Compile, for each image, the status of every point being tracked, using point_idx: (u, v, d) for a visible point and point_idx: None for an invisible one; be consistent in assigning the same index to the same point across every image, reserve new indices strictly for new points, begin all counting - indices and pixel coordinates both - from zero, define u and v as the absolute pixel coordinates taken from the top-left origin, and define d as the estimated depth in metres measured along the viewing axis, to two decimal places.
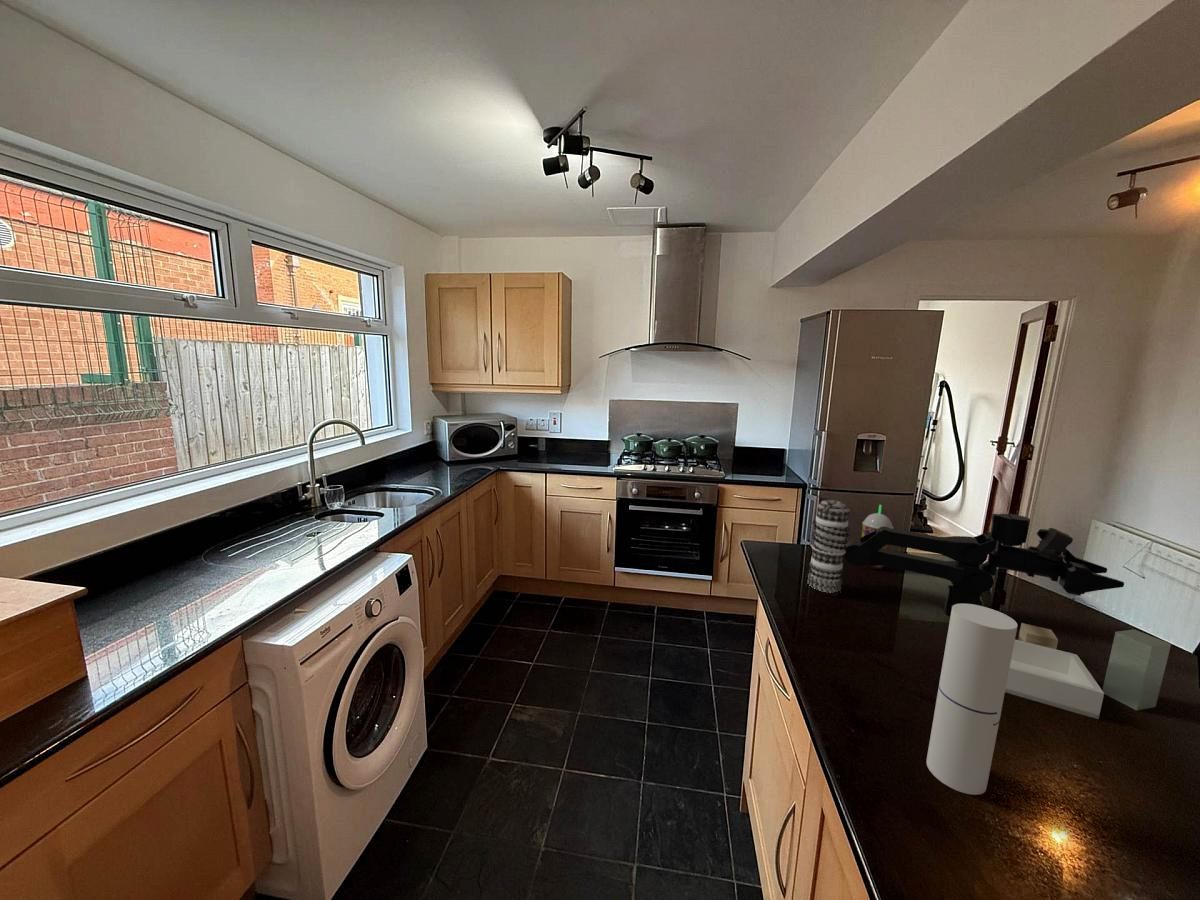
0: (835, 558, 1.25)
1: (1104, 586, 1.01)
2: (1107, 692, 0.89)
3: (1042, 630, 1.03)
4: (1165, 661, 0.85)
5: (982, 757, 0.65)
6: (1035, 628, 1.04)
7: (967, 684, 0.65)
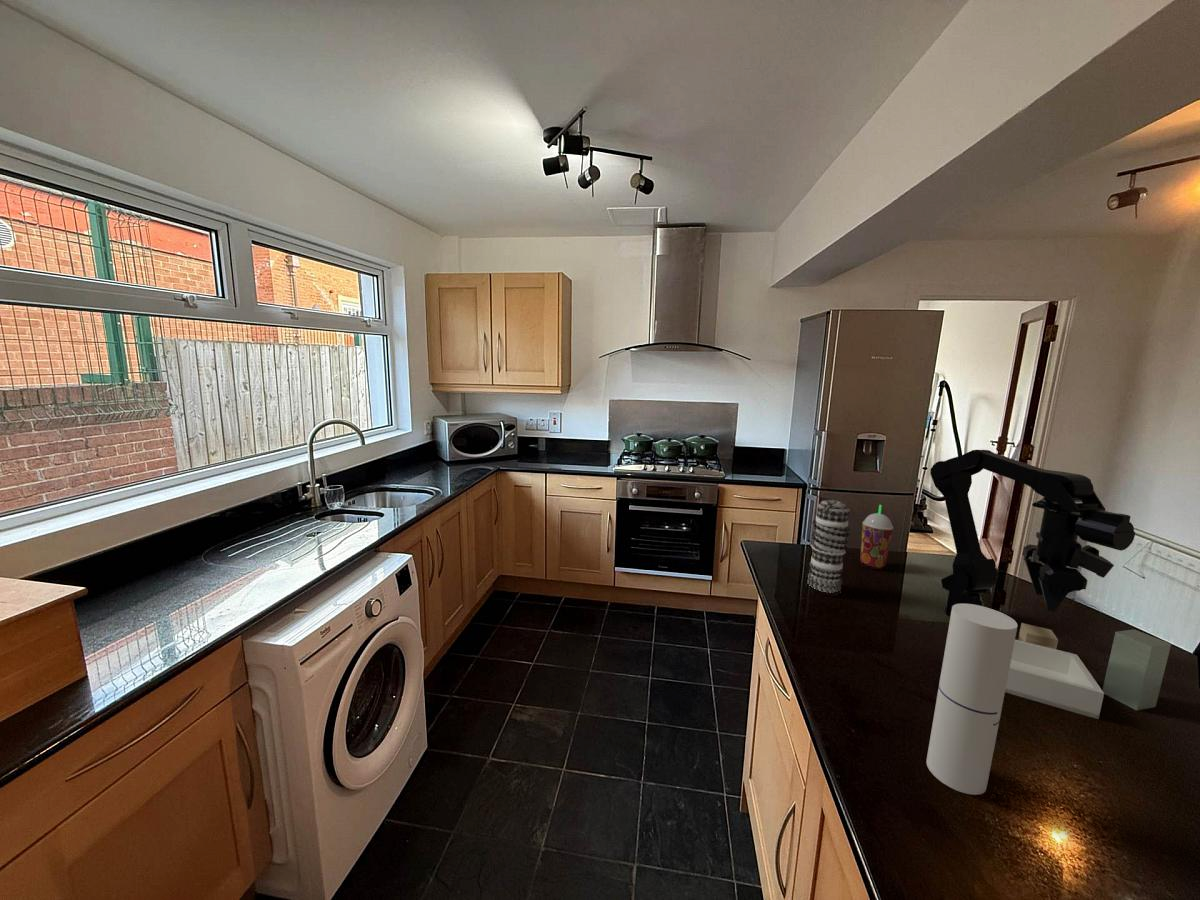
0: (835, 558, 1.25)
1: (1048, 598, 0.97)
2: (1107, 692, 0.89)
3: (1042, 630, 1.03)
4: (1165, 661, 0.85)
5: (982, 757, 0.65)
6: (1035, 628, 1.04)
7: (967, 684, 0.65)
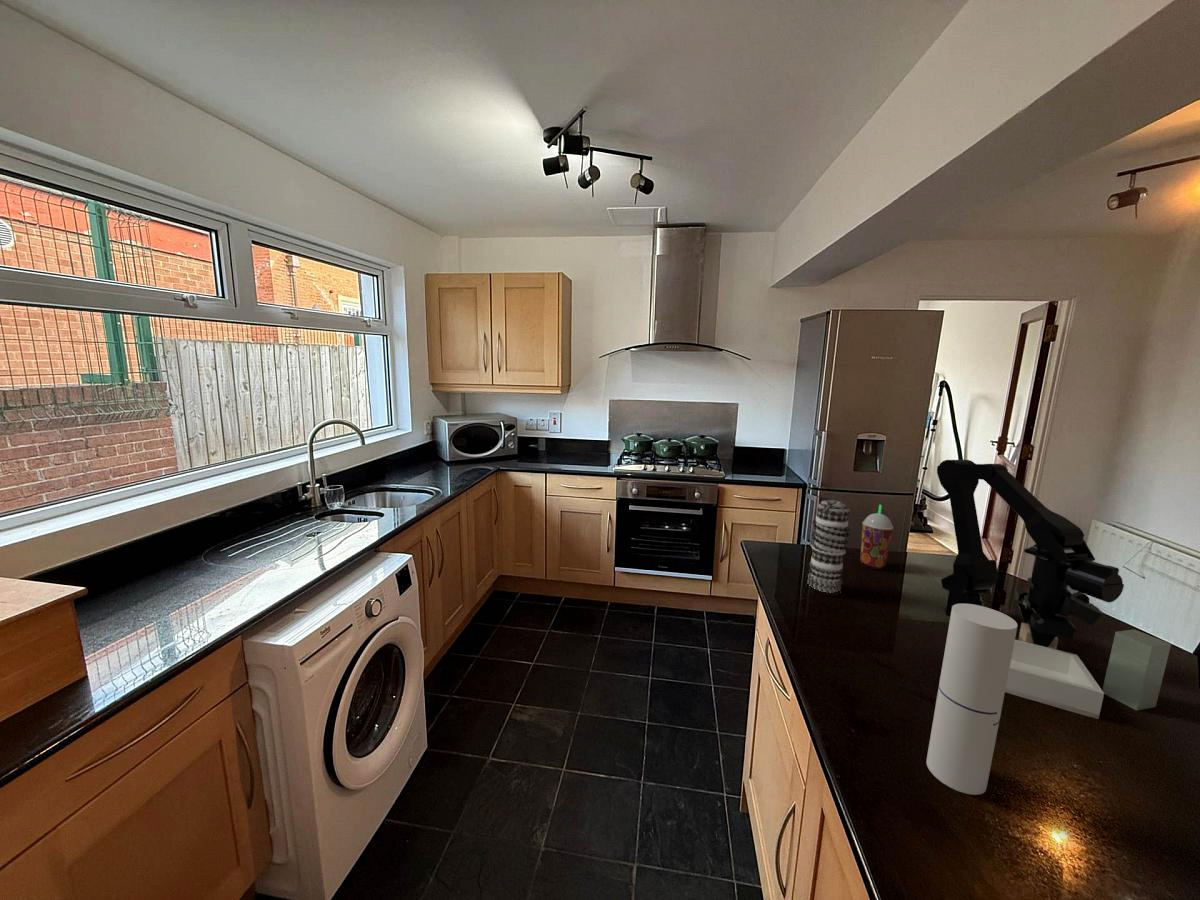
0: (835, 558, 1.25)
1: (1037, 640, 1.00)
2: (1107, 692, 0.89)
3: None
4: (1165, 661, 0.85)
5: (982, 757, 0.65)
6: None
7: (967, 684, 0.65)
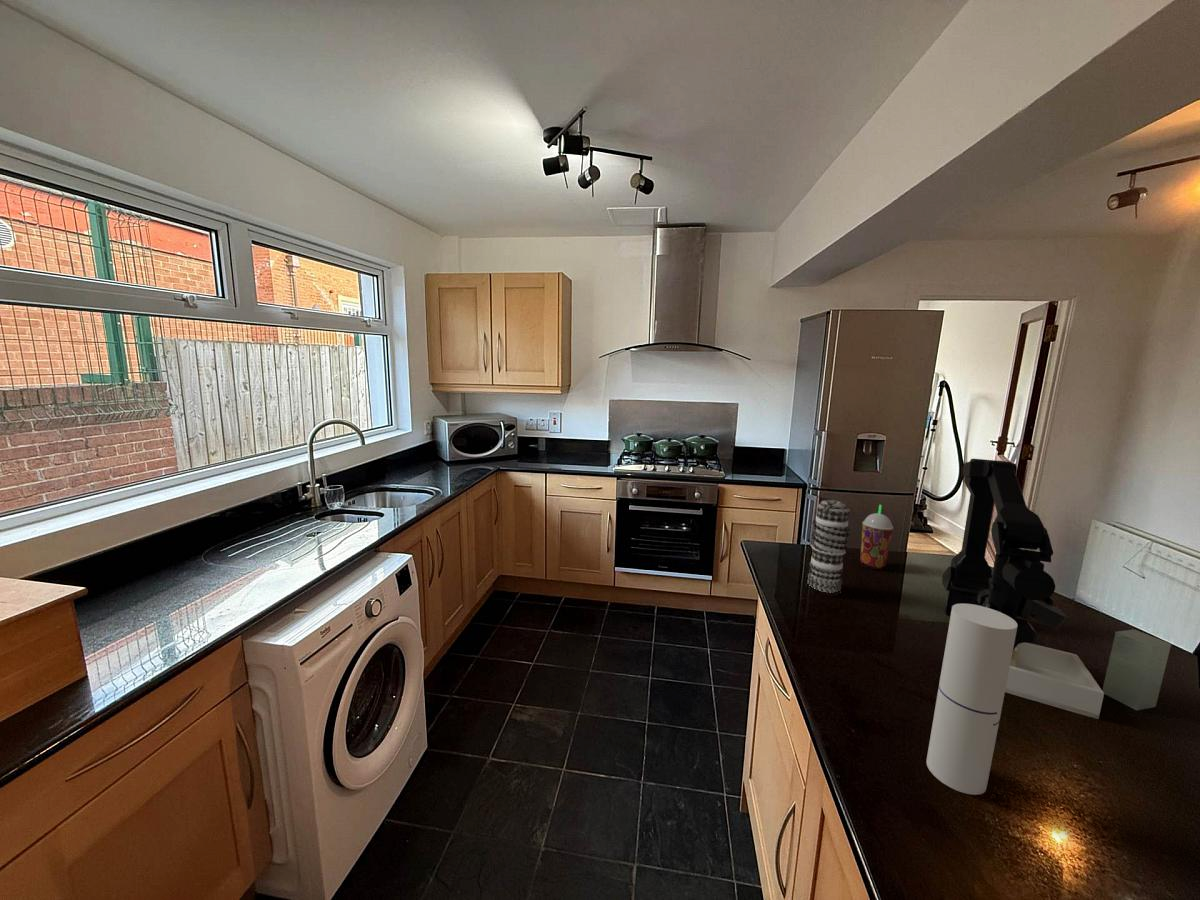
0: (835, 558, 1.25)
1: None
2: (1107, 692, 0.89)
3: None
4: (1165, 661, 0.85)
5: (982, 757, 0.65)
6: None
7: (967, 684, 0.65)
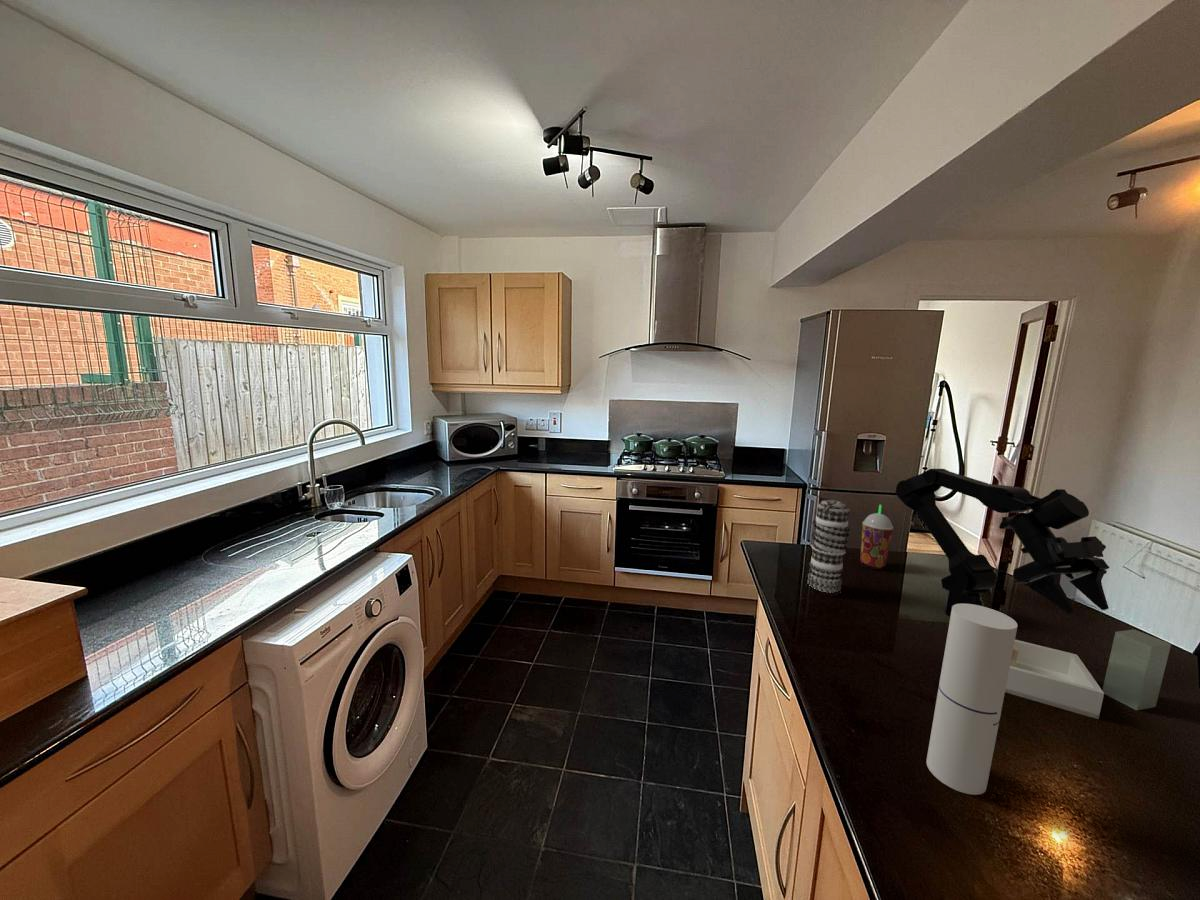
0: (835, 558, 1.25)
1: (1052, 599, 0.95)
2: (1107, 692, 0.89)
3: None
4: (1165, 661, 0.85)
5: (982, 757, 0.65)
6: None
7: (967, 684, 0.65)
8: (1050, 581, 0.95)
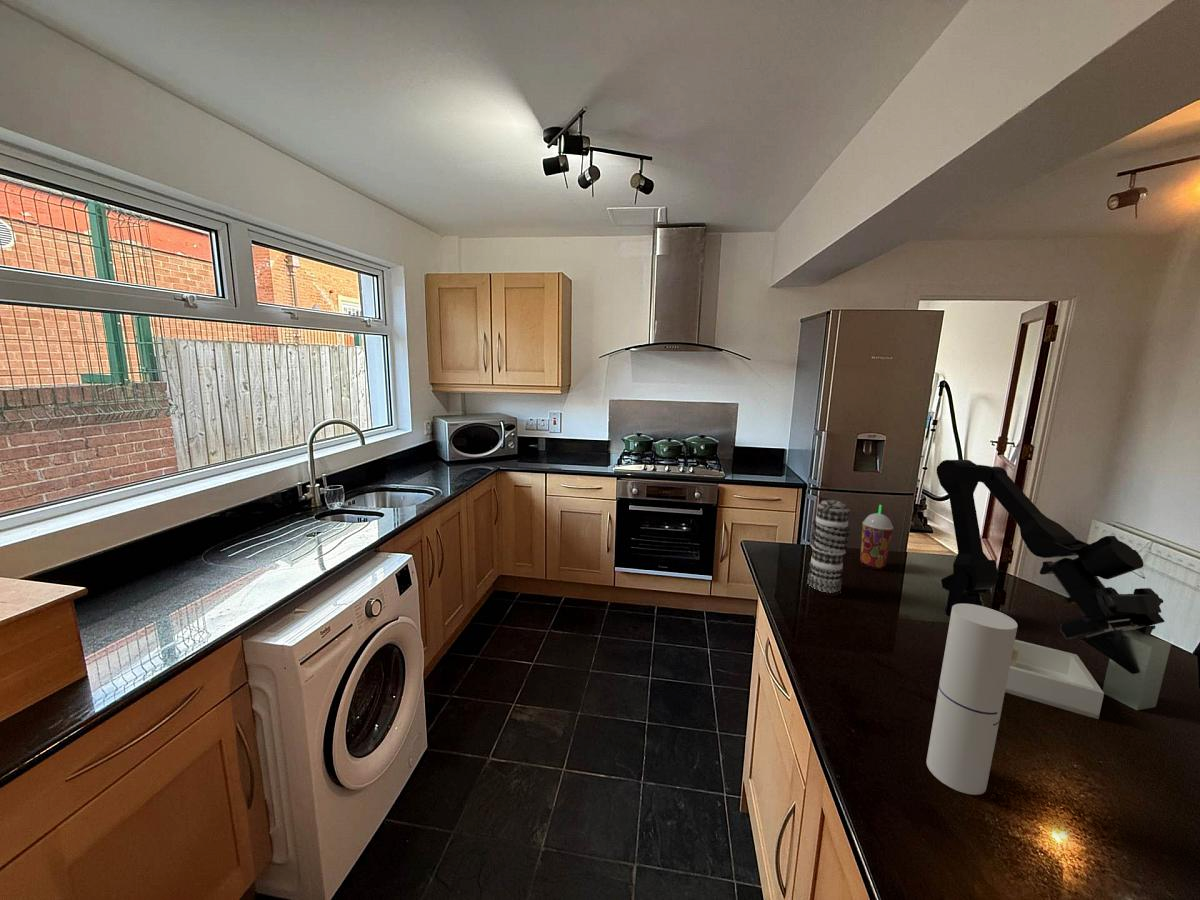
0: (835, 558, 1.25)
1: (1112, 657, 0.88)
2: (1108, 692, 0.89)
3: None
4: (1165, 661, 0.85)
5: (982, 757, 0.65)
6: None
7: (967, 684, 0.65)
8: (1110, 637, 0.87)
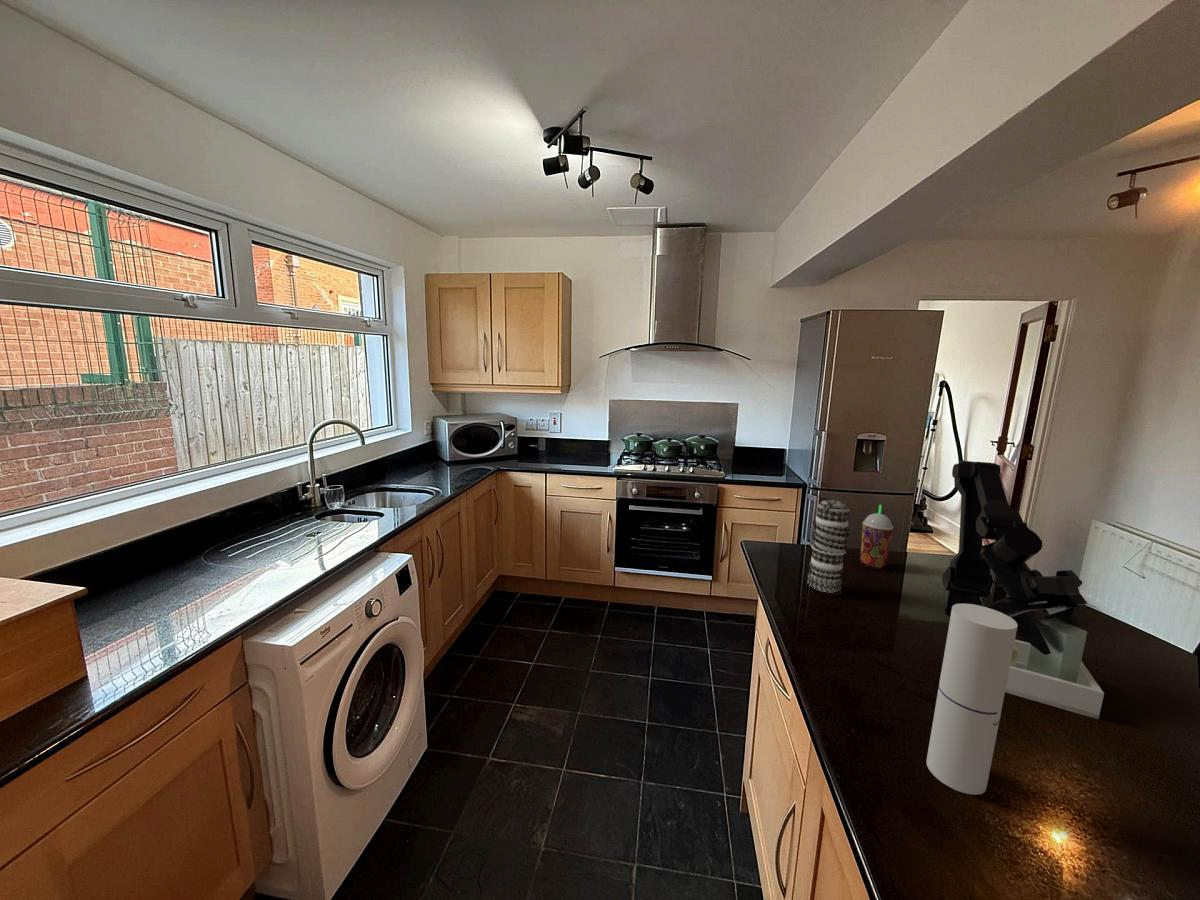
0: (835, 558, 1.25)
1: (1027, 638, 0.89)
2: None
3: None
4: (1082, 649, 0.87)
5: (982, 757, 0.65)
6: None
7: (967, 684, 0.65)
8: (1024, 619, 0.88)
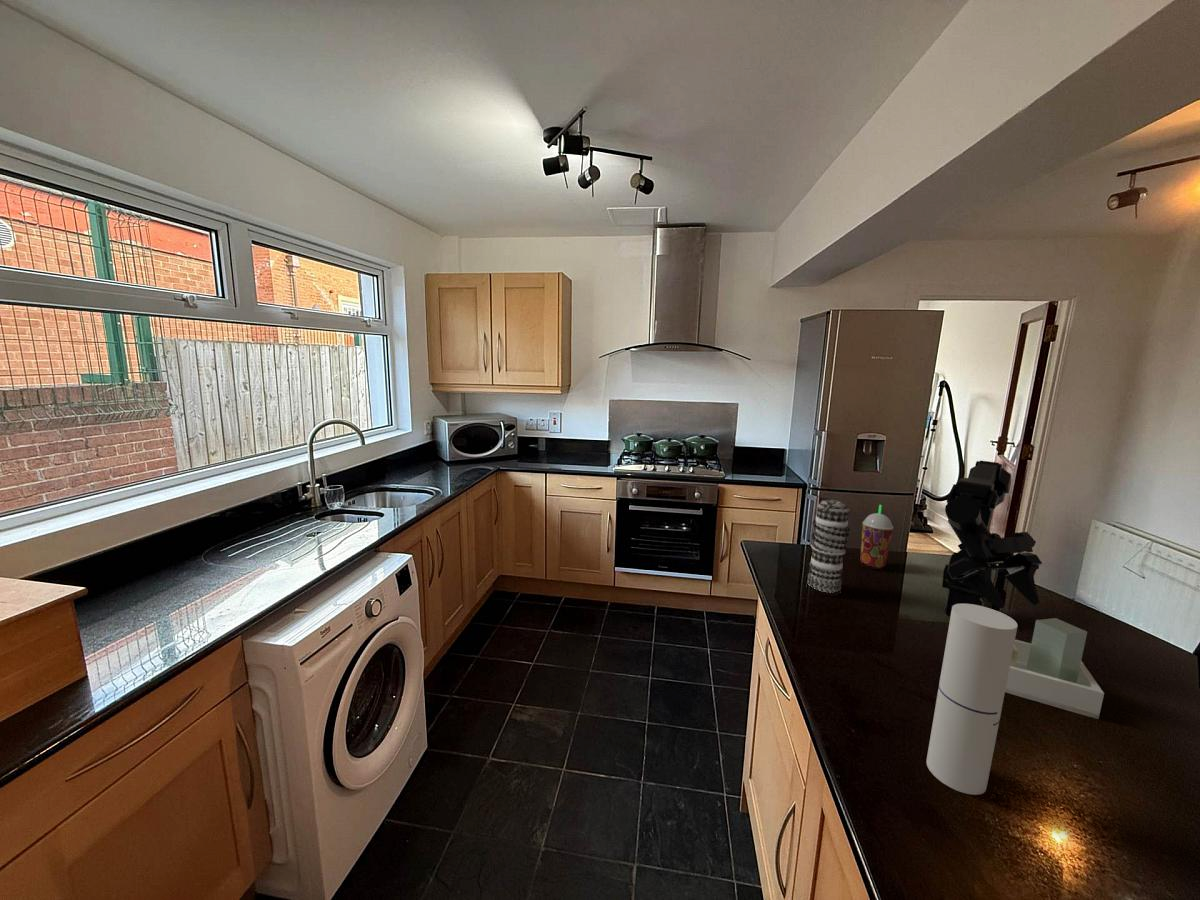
0: (835, 558, 1.25)
1: (984, 594, 0.96)
2: None
3: None
4: (1082, 649, 0.87)
5: (982, 757, 0.65)
6: None
7: (967, 684, 0.65)
8: (981, 576, 0.95)
